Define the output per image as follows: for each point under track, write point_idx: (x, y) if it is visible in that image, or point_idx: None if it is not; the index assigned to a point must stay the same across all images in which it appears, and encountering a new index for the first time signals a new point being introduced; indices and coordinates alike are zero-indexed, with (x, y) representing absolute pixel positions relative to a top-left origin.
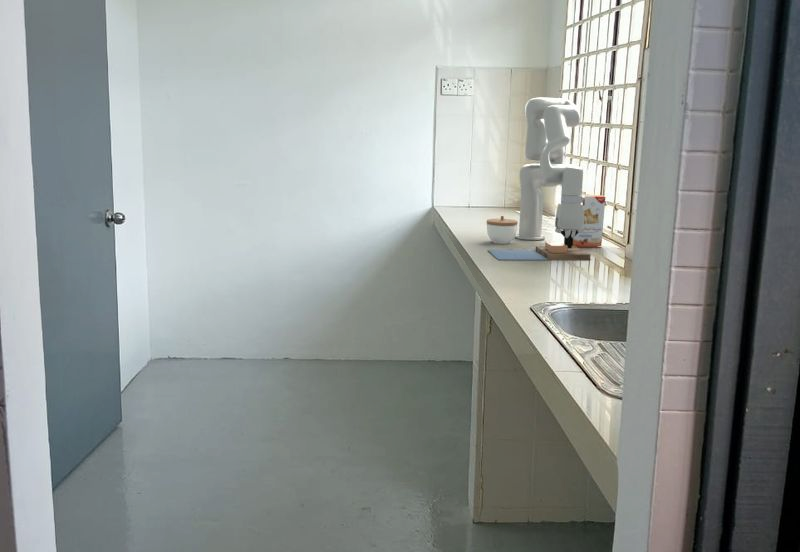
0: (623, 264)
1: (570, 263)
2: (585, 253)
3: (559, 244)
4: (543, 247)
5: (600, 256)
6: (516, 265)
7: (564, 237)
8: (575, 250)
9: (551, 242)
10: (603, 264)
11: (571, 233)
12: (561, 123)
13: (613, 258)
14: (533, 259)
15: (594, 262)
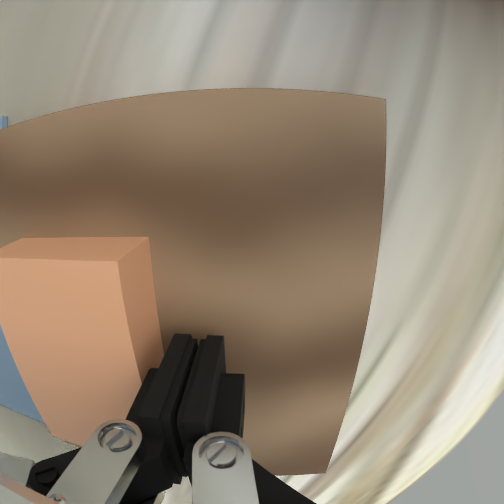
0: (410, 484)
1: (180, 488)
2: (310, 453)
3: (98, 408)
4: (15, 192)
5: (453, 343)
6: (9, 448)
7: (121, 432)
8: (283, 358)
9: (24, 295)
10: (328, 499)
11: (219, 495)
12: None
13: (474, 389)
14: (23, 414)
15: (310, 482)
